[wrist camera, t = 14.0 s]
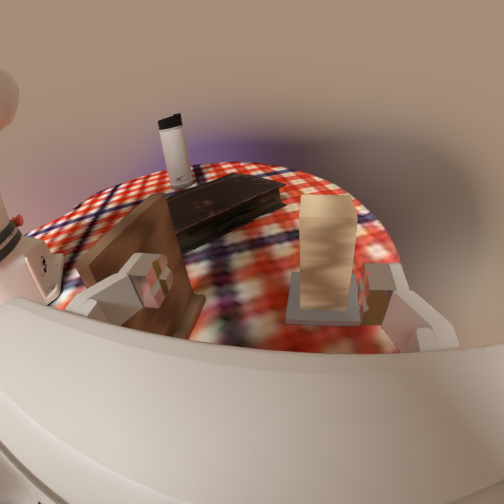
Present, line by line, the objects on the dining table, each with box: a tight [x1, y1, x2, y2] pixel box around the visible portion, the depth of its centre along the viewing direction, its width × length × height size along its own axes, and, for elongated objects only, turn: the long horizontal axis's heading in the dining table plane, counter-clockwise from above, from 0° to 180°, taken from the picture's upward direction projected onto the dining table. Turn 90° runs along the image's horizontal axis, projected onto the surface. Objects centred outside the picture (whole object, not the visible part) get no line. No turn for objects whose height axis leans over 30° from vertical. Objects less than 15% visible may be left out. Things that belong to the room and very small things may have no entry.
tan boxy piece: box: [299, 195, 358, 311], centre depth 27 cm, size 5×5×11 cm
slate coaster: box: [285, 272, 360, 326], centre depth 30 cm, size 8×8×1 cm
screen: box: [75, 193, 206, 339], centre depth 25 cm, size 12×4×14 cm, turn 168°
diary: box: [166, 173, 287, 255], centre depth 52 cm, size 19×25×5 cm
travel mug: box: [158, 113, 193, 189], centre depth 67 cm, size 6×7×20 cm
